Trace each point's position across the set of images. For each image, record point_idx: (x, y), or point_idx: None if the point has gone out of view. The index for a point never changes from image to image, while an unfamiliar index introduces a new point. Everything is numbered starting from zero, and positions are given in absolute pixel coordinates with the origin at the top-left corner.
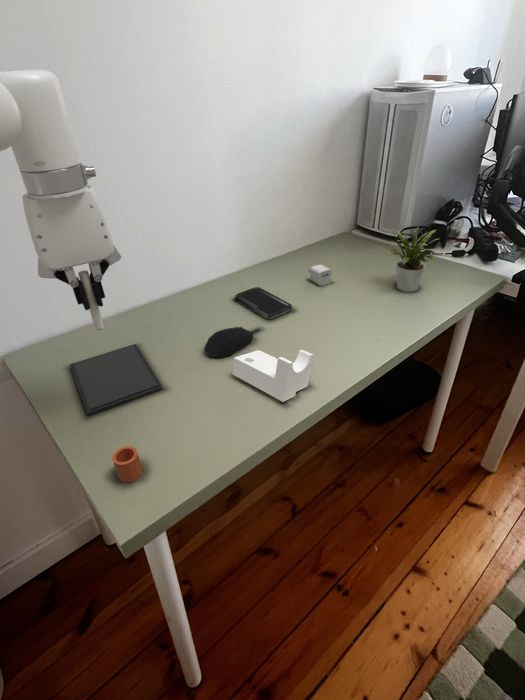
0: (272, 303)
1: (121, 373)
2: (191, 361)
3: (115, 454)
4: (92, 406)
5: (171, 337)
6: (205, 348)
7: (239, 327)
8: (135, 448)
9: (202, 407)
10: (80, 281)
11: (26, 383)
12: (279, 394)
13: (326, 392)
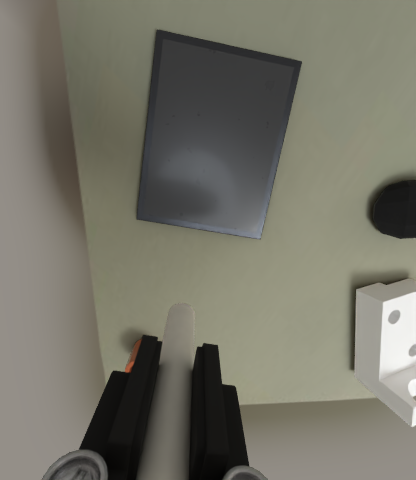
0: None
1: (226, 153)
2: (340, 200)
3: (131, 365)
4: (148, 210)
5: (372, 88)
6: (382, 197)
7: None
8: None
9: (276, 310)
10: (135, 467)
11: (63, 21)
12: (361, 376)
13: None
